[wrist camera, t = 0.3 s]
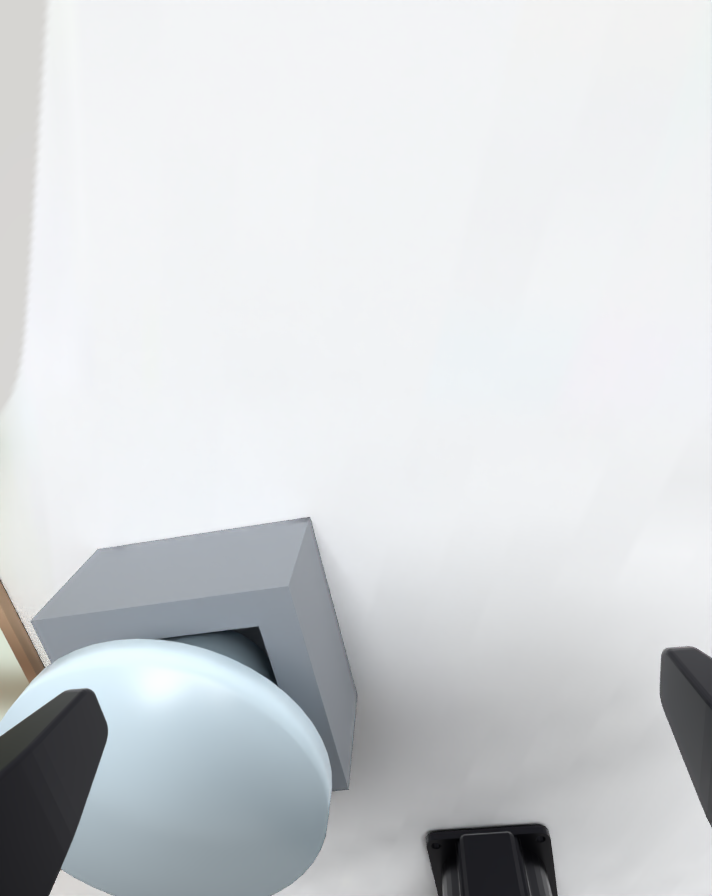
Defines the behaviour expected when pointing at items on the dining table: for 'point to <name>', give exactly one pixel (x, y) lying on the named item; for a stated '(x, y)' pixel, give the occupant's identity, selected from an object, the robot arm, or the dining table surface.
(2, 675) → the wooden tray
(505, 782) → the dining table surface
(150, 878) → the pop dome
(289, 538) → the gray square block
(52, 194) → the dining table surface
